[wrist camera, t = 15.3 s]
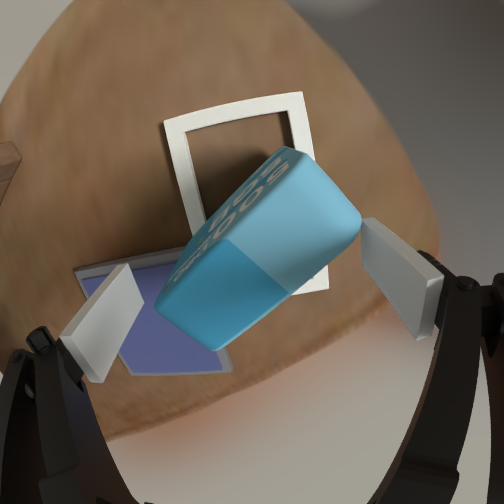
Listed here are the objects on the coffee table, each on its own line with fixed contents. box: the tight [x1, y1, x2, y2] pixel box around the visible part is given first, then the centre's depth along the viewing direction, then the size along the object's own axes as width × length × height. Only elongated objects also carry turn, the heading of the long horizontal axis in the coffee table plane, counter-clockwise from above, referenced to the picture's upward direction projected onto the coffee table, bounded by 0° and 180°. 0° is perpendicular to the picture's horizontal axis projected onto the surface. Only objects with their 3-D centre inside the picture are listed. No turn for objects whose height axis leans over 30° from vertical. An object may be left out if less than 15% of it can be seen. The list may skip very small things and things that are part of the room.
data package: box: [154, 146, 362, 351], centre depth 18 cm, size 12×4×12 cm, turn 136°
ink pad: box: [74, 246, 233, 376], centre depth 30 cm, size 15×17×2 cm
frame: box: [163, 92, 329, 295], centre depth 24 cm, size 12×19×1 cm, turn 11°
